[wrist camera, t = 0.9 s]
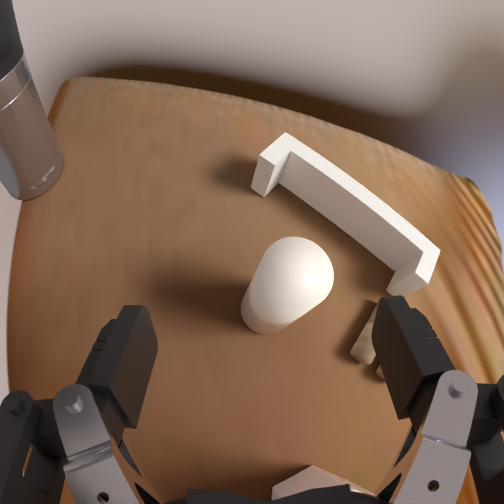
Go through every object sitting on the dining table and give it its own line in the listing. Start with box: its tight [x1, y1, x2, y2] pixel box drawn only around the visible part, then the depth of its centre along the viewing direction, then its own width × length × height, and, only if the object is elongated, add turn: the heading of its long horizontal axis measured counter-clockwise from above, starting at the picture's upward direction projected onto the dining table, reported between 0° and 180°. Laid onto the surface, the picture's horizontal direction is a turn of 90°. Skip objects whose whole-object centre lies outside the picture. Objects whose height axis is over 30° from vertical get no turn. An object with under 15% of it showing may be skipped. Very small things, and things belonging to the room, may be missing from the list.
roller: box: [350, 301, 379, 365], centre depth 31 cm, size 3×7×3 cm, turn 143°
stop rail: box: [251, 132, 440, 297], centre depth 34 cm, size 22×5×6 cm, turn 53°
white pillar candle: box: [240, 237, 334, 335], centre depth 26 cm, size 5×5×11 cm
